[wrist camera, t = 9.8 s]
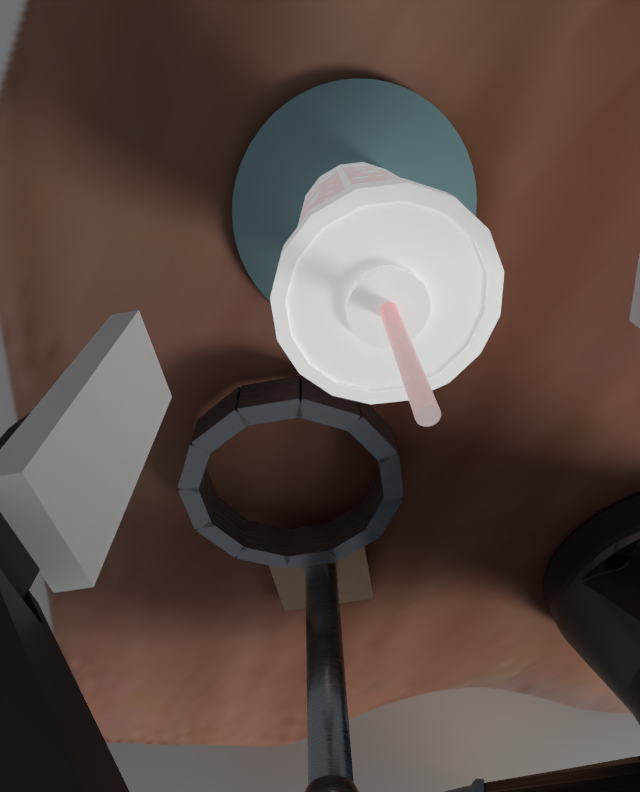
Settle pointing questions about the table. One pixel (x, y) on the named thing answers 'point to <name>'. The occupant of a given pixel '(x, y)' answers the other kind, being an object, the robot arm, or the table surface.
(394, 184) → the beverage cup
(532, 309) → the table surface
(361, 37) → the table surface
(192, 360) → the table surface
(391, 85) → the coaster
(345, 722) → the ring stand
